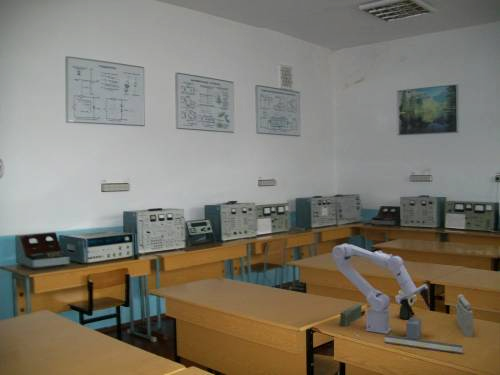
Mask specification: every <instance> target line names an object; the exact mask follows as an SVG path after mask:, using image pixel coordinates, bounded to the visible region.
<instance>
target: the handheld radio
mask: <svg viewBox="0 0 500 375" xmlns="http://www.w3.org/2000/svg"><path fill="white" fill-rule="evenodd" d="M364 314H366V311H365V310H362V303H360V302H359V303H356V304H355V305H353V306H351V307H349V308H347V309H345V310H343V311H342V312H341V311H340V316H339V318H340V319H339V326H340V327H347V326H348V324H349V325H350V324H352V323H353V322H355V321H357V320H359V319H361V318H362V315H364Z"/></svg>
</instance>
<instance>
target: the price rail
mask: <svg viewBox="0 0 500 375" xmlns="http://www.w3.org/2000/svg"><path fill="white" fill-rule="evenodd" d="M384 343H385V344H391V345H396V346H404V347H410V348H411V347H412V348H418V349H426V350H432V351H437V352H445V353H446V352H447V353H451V354H452V353H453V354H458V355H459V354H460V355H463V352H464V351H463V350H464V349H463V348H464V347H463V345H462V344H457V343H456V344H455V343H449V342H441V341H434V340H427V339H420V338H419V339H414V338H406V336H396V335H391V334H385V335H384Z"/></svg>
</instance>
